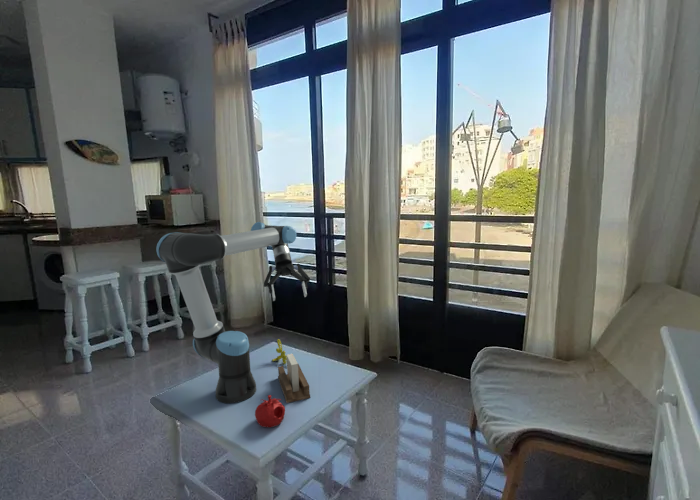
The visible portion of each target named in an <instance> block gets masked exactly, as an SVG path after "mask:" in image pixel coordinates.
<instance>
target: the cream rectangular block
mask: <svg viewBox="0 0 700 500" xmlns="http://www.w3.org/2000/svg"><path fill="white" fill-rule="evenodd" d="M285 355H286V356H287V357H286V358H287V362H286V368H287V369H286V370H287V373H286V374H287V375H288V380H289V383H290V385H291V388H292V391H293V392H295V391H299V376H298V364H299V363H298V362H297V359H296V358H295V356H294V354H293V353H287V354H285Z"/></svg>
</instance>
